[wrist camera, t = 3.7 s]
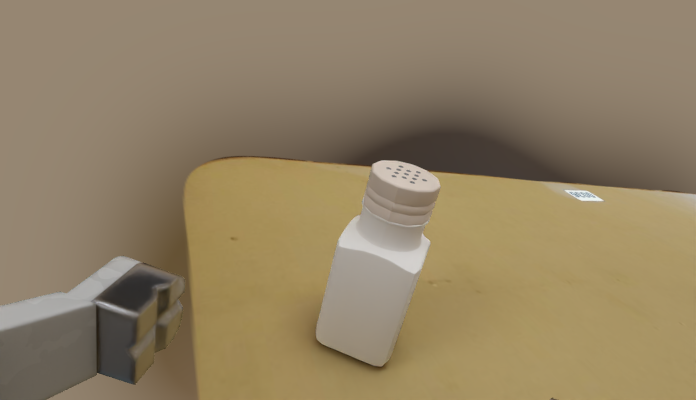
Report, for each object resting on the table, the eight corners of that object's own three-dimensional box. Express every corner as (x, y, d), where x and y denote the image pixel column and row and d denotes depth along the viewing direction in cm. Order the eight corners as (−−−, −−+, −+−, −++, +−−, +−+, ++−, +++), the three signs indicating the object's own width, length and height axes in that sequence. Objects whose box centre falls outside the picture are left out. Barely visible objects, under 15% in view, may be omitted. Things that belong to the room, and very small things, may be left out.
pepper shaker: (401, 327, 27) (454, 174, 23) (383, 375, 23) (443, 204, 19) (335, 301, 27) (376, 149, 23) (309, 344, 24) (351, 173, 20)
